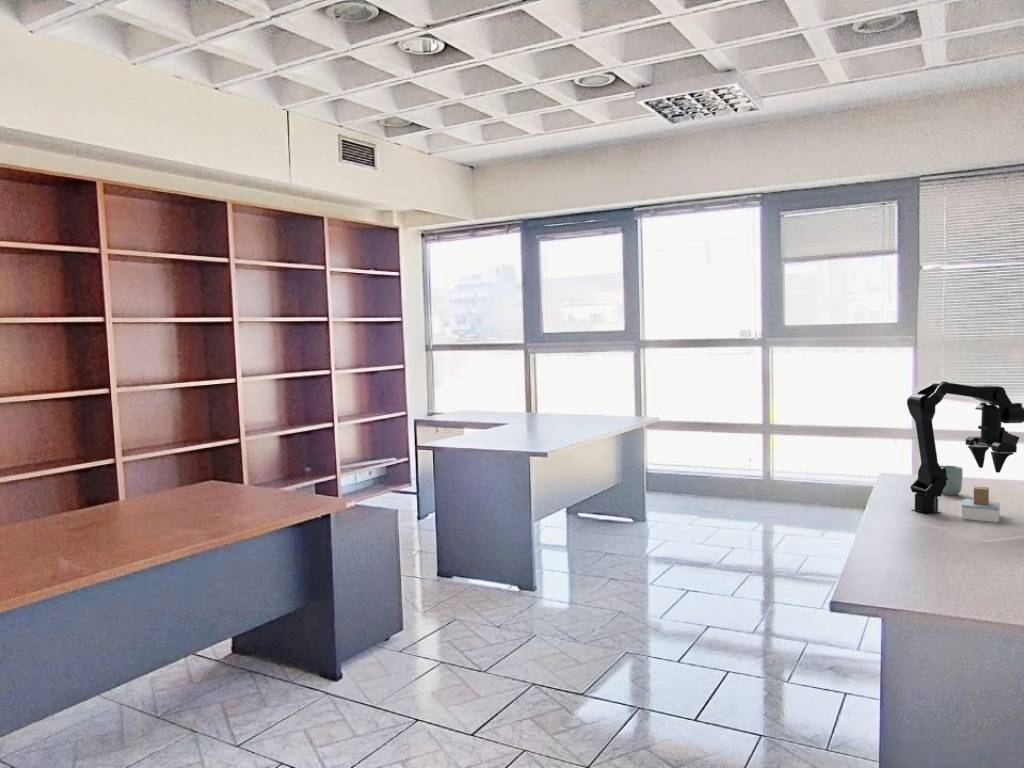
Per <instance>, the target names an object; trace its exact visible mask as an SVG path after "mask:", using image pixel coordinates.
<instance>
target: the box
mask: <svg viewBox="0 0 1024 768" xmlns="http://www.w3.org/2000/svg"><path fill="white" fill-rule="evenodd" d="M1000 511H1001V507H1000V508H999V511H995V510H984V509H973V508H962V507H961V519H963V520H974V521H983V522H984V521H985V522H996V523H999V522H1000V518H1001V517H1000V516H1001V512H1000Z"/></svg>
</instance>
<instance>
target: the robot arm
mask: <svg viewBox="0 0 1024 768" xmlns="http://www.w3.org/2000/svg"><path fill="white" fill-rule="evenodd" d="M947 394H948V395H954V396H955V395H956V396H963V397H969V398H972V399H975V400H977V401H980V403H979V404H978V405H977V406H975V410H979V411H981V416H980V417H981V418H980V419H981V421H980V422H981V423H980V425H978V426H977V429H978V430H980V436H968V437H967V438H965V445H966V446H967V448H968V449H969V450H970V452H971V454H972V456H973V458H974V460H975V462H976V464H977V466H978V468H980V469H982V468H984V465H985V459H986V458H985V457H986V456H985V455H986V452H987V451H988V450H989V449H991V451H990V454H991V459H992V463H993V467H994V470H995V473H998V474H999V473H1001V471H1002V469H1003V466H1004V464H1005V462H1006V460H1007V458H1009V457H1010V456H1012V455H1014V453H1017V450H1018V446H1017V445H1018V442H1019V440H1020V436H1017V435H1014V434H1011V433H1010V432H1009V431H1007V430H1006V429H1005V427H1003V426H1002V423H1003V424H1022V423H1024V407H1023V404H1022V402H1012V400H1011V399H1010V397H1009V396H1008V395H1007V392H1006V389H1005V387H1003V386H1001V385H1000V386H999V385H988V384H987V385H974V386H973V385H968V384H967V385H966V384H960V383H953V382H948V381H944V380H935V381H933V382H932V383H931V384H930V385H927V386H925V387H923V388H921V389H920V390H919V391H917V392H916V393H913V394H911V395H910V396H909V397H908V398H907V399H906V406H907V408H908V412H909V414H910V416H911V417H912V418H913V420H914V422H915V428H916V435H917V443H918V450H919V457H920V466H919V468H918V471H917V479H915V481H914V482H913V483H912V484H911V485H910V487H909V488H910V491H911V492H912V493H914V509H911V510H910V511H911V512H916V513H919V514H922V515H936V514H941V513H942V512H941V511H939V499H938V498H940V497H942V495H943V494H942V492H943V489H944V487H945V486H946V480H948V478H947V475H946V468H944V467H940V466H941V465H940V464H939V461H938V455H937V448H936V439H935V434H934V433H935V431H934V427H933V426H934V424H933V419H934V416H935V414H936V406H937V405H938V404H939V403H941V402H942V401H943V398H944V397H945V396H946V395H947ZM987 403H988V404H987Z"/></svg>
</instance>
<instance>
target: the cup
mask: <svg viewBox="0 0 1024 768" xmlns="http://www.w3.org/2000/svg"><path fill="white" fill-rule="evenodd" d="M940 467H944V468H946V475H947V478H948V480H946V486H945V487H944V489H943V492H942V495H944V496H945V495H946V496H957V495H959V494H960V493H961V492H962V487H963V467H961V466H956V465H940Z"/></svg>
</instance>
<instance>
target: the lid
mask: <svg viewBox="0 0 1024 768" xmlns="http://www.w3.org/2000/svg"><path fill="white" fill-rule="evenodd" d="M989 493H990V487H988V486H987V487H986V486H974V487H973V499H965V498H964V499H963V501H962V504H961V509H962V508H973V509H984V510H995V511H999V508H1000V509H1001V507H1000V506H1001V502H1000V501H992V500H989V499H990V494H989Z"/></svg>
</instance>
